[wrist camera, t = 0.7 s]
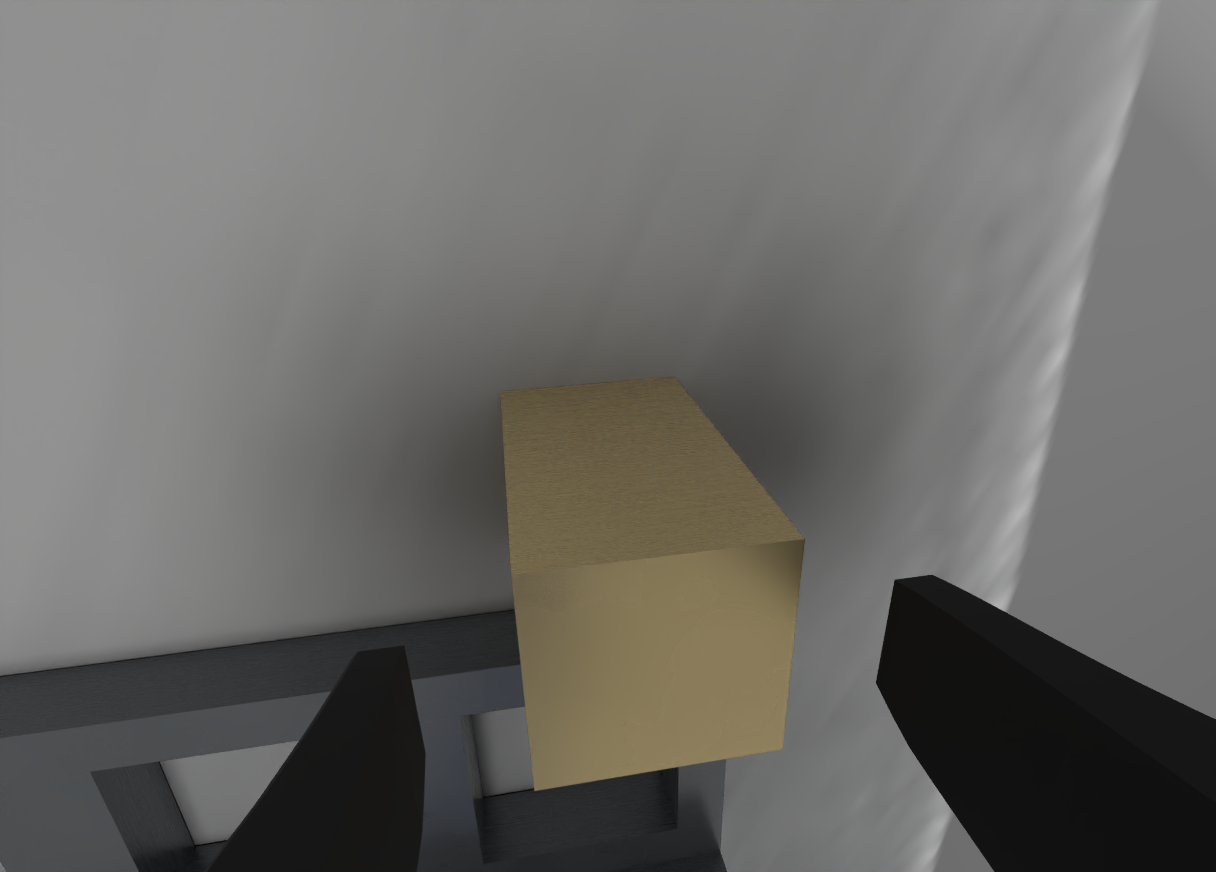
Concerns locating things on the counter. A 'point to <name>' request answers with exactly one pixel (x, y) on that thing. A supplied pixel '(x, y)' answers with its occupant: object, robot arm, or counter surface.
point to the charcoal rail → (281, 712)
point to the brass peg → (643, 583)
